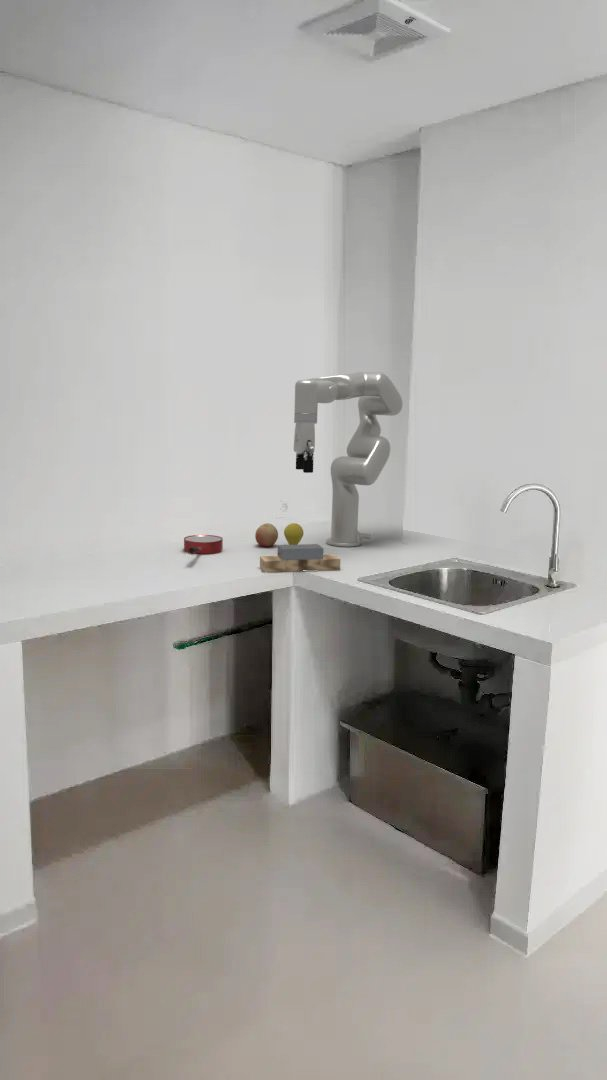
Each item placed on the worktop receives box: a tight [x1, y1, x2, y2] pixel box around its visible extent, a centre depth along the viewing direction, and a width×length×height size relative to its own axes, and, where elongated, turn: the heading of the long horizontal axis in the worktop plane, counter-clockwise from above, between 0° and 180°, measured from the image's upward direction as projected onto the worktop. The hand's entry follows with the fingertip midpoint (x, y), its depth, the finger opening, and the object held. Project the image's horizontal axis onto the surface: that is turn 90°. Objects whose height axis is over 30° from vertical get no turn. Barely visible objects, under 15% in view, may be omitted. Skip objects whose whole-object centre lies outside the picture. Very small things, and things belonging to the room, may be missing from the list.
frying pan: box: [183, 534, 224, 556], centre depth 260 cm, size 32×13×6 cm, turn 4°
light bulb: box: [283, 522, 304, 545], centre depth 271 cm, size 7×7×10 cm
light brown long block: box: [259, 553, 341, 573], centre depth 247 cm, size 24×7×4 cm, turn 105°
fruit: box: [254, 522, 279, 548], centre depth 279 cm, size 8×8×8 cm
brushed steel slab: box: [276, 543, 324, 560], centre depth 247 cm, size 13×6×6 cm, turn 105°
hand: (304, 470), depth 263 cm, fingers open, 9 cm apart
